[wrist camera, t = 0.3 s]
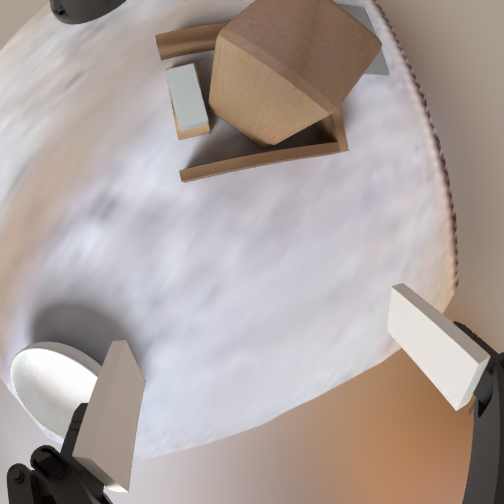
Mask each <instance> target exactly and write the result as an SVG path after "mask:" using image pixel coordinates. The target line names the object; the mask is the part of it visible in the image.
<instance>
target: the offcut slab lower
mask: <svg viewBox="0 0 504 504" xmlns="http://www.w3.org/2000/svg"><path fill="white" fill-rule="evenodd" d="M189 64H192V63H189ZM193 64H194V68H195V71H196V75H197V79H198V83H199V87H200V90H201V94H202V89H201V84H200V79H199V73H198V68H197V63H196V62H194V63H193ZM184 65H188V64H184ZM184 65H180V66H175V67H171V68H167V69H166V70H169V69H173V68H177V67H181V66H184ZM169 91H170V89H169ZM170 97H171V94H170ZM202 98H203V94H202ZM203 102H204V99H203ZM171 103H172V108H173V114H174V119H175V124H176V130H177V135H178V139H179V140H182V139H186V138H190V137H195V136H199V135H204V134H209V133H210V128H209V123H208V124H207V125H204V126H200V127H196V128H192V129H189V130H185V131H182V132H180V130H179V126H178V122H177V118H176V114H175V110H174V106H173V102H172V98H171ZM204 106H205V103H204ZM205 109H206V108H205Z"/></svg>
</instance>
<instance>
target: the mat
mask: <svg viewBox="0 0 504 504" xmlns="http://www.w3.org/2000/svg"><path fill="white" fill-rule="evenodd" d="M338 5H339V6H340V7H342V8H343V9H344V10H346V11H347V12H348V13H349V14H351V15H352V16H353V17H355V18H356V19H357V20H358V21H359V22H361V23H362V24H363V25H364V26H365V27H367V28H368V29H369V30H370V31H371V32H372V33H374V34H375V32H374V30H373V27H372V25H371V23H370V20H369V18H368V15H367V13H366V11H365V9H364V8H360V7H354V6H348V5H341V4H338ZM363 74H378V75H389V72H388V69H387V66H386V63H385V60H384V57H383V54H382V51H381V49H380V52H379V54H378V55H377V56H376V57H375V59H374V60H373V61H372V63H371V64H370V65H369V67H368V68H367V69H366V71H365V72H364V73H363Z"/></svg>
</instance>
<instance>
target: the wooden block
mask: <svg viewBox="0 0 504 504" xmlns="http://www.w3.org/2000/svg"><path fill="white" fill-rule="evenodd" d="M381 45H382V43H381V41H380V40H379V38H378V37H377V36H376V35H375V34H374V33H372V32H371V31H370V30H369V29H368V28H367V27H365V26H364V25H363V24H362V23H361V22H359V21H358V20H357V19H356V18H355V17H353V16H352V15H351V14H349V13H348V12H347V11H346V10H344V9H343V8H342V7H340V6H339V5H338V4H336V3H335V2H333V1H332V0H255V1H254V2H253V3H252V4H250V5H249V6H248V7H247V8H246V9H244V10H243V11H242V12H241V13H240V14H239V15H237V16H236V17H235V18H234V19H233V20H232V21H231V22H229V23H228V24H227V25H226V26H225V27H224V28H223V29H222V30H221V31H220V32H219V34H218V37H217V39H216V46H215V53H214V61H213V69H212V77H211V85H210V94H209V103H208V108H209V110H210V111H211V112H212V113H213V114H215V115H216V116H218V117H219V118H221V119H222V120H224V121H225V122H227V123H228V124H230V125H231V126H232V127H234V128H235V129H237V130H238V131H240V132H241V133H242V134H244V135H245V136H247V137H248V138H249V139H251V140H252V141H253V142H255V143H256V144H258V145H259V146H260V147H262V148H265V149H269V148H271V147H272V146H274V145H276V144H278V143H279V142H281V141H283V140H285V139H286V138H288V137H290V136H292V135H293V134H295V133H297V132H299V131H301V130H303V129H304V128H306V127H308V126H310V125H312V124H314V123H316V122H317V121H319V120H321V119H323V118H325V117H327V116H329V115H331V114H333V113H334V112H335V111H336V110H337V108H338V107H339V105H340V104H341V103H342V101H343V100H344V99H345V97H346V96H347V95H348V93H349V92H350V91H351V89H352V88H353V87H354V85H355V84H356V83H357V81H358V80H359V79H360V77H361V76H362V75H363V73H364V72H365V71H366V69H367V68H368V67H369V65H370V64H371V63H372V61H373V60H374V59H375V57H376V56H377V55H378V54H379V52H380V49H381Z"/></svg>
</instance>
